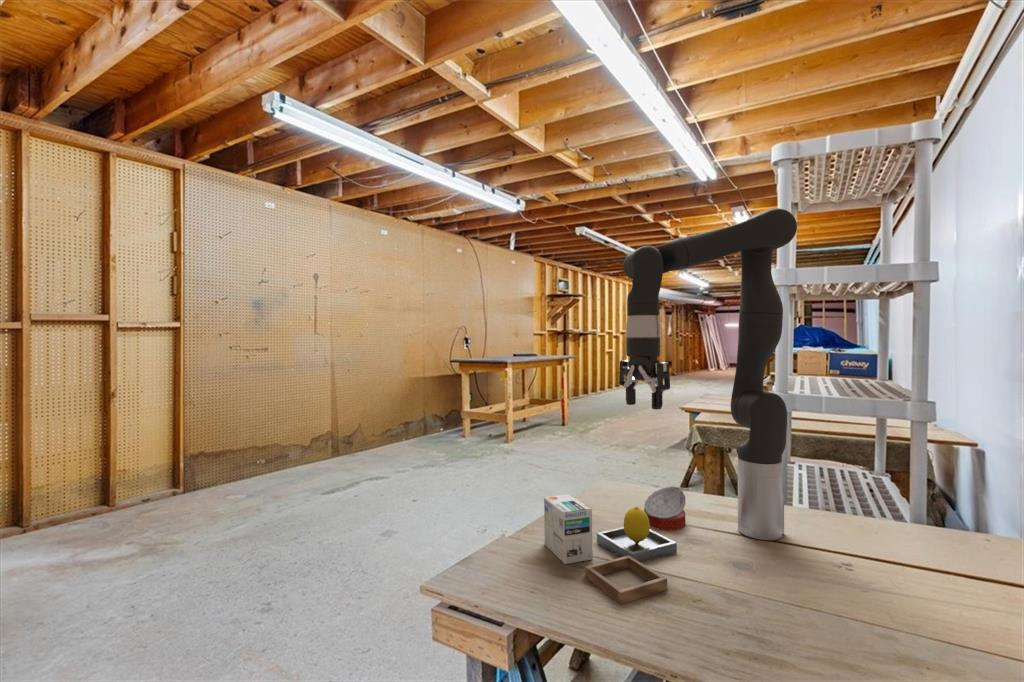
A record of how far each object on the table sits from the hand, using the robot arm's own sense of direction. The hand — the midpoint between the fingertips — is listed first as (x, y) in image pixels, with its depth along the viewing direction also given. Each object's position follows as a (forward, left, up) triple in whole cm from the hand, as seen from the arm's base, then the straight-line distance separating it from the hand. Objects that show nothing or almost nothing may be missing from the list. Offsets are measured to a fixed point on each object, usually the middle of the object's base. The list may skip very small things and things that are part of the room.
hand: (643, 406), depth 110 cm
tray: (+5, +3, -30) cm, 31 cm away
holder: (+17, +14, -30) cm, 37 cm away
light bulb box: (+19, -2, -30) cm, 36 cm away
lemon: (+5, +3, -29) cm, 30 cm away
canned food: (-11, -5, -30) cm, 33 cm away
